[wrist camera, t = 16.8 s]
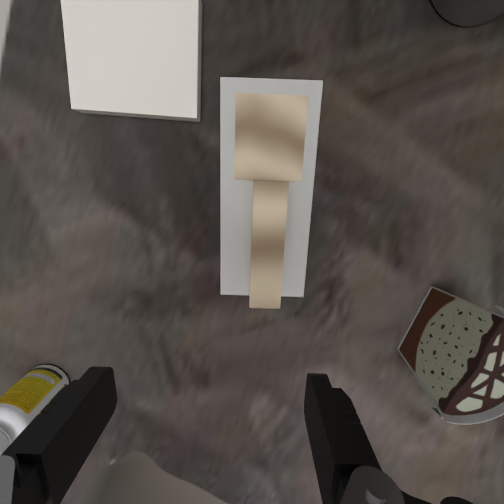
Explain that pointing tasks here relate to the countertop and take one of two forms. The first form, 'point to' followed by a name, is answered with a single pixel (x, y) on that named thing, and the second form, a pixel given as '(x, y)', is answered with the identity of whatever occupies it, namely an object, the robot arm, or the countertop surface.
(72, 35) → the tile
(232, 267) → the mat
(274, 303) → the turner
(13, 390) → the supplement bottle
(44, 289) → the countertop surface
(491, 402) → the food container
